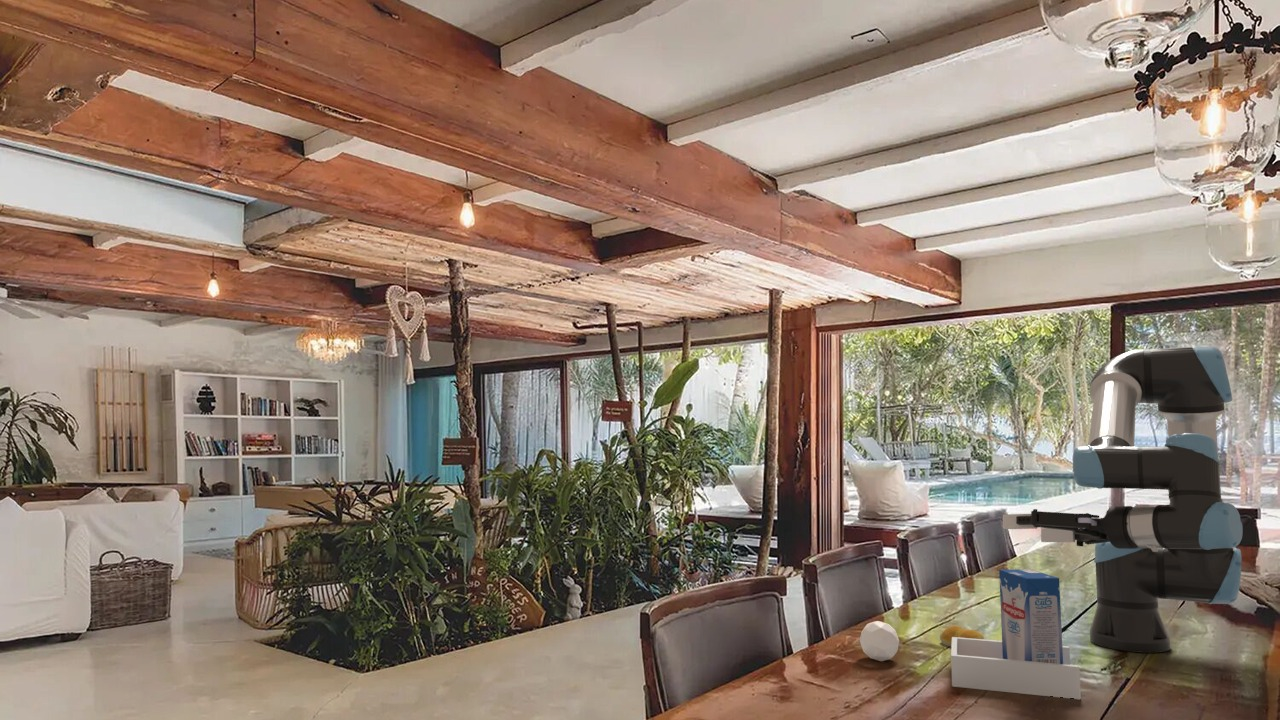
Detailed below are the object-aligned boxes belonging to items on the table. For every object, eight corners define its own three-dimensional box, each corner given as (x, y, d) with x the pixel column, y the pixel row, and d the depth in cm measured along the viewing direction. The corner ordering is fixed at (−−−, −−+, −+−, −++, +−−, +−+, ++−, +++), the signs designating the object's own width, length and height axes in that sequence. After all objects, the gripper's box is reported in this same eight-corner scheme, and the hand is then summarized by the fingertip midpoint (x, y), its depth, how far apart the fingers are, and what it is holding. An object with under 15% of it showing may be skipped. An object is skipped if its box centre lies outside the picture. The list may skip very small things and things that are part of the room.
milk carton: (1003, 675, 157) (998, 569, 159) (1034, 675, 158) (1029, 569, 160) (1031, 692, 147) (1026, 578, 149) (1064, 691, 148) (1059, 578, 150)
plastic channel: (1070, 676, 157) (1068, 646, 157) (1080, 699, 143) (1079, 667, 144) (952, 664, 165) (951, 636, 165) (952, 686, 151) (950, 655, 151)
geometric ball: (886, 676, 166) (890, 650, 162) (851, 655, 171) (853, 630, 167) (904, 651, 171) (908, 625, 167) (869, 632, 176) (872, 606, 172)
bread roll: (974, 653, 174) (973, 634, 175) (935, 645, 181) (934, 626, 182) (993, 646, 180) (992, 627, 180) (954, 638, 187) (953, 620, 187)
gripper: (1101, 534, 139) (986, 535, 156) (1170, 560, 152) (1057, 558, 169) (1100, 491, 142) (987, 496, 158) (1167, 520, 154) (1056, 522, 171)
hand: (1023, 528), depth 164 cm, fingers open, 13 cm apart
